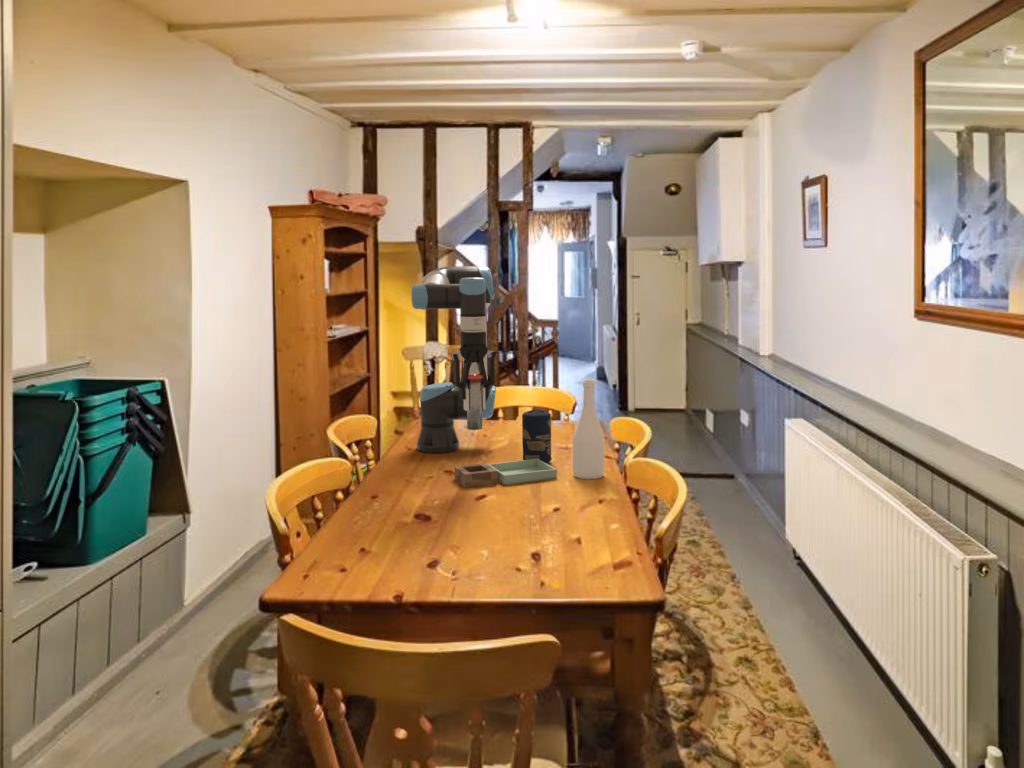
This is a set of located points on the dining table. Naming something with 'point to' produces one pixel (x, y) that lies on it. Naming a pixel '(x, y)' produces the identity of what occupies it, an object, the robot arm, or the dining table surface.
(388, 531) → the dining table surface
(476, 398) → the pin
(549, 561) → the dining table surface
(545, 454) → the canister
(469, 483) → the socket block
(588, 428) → the wine bottle
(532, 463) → the tray
